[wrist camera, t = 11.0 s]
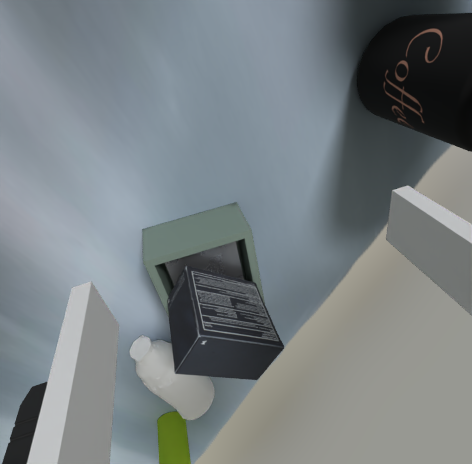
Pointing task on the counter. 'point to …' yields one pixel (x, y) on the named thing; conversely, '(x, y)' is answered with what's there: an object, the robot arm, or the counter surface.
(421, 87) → the coffee jar
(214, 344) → the small box
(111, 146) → the counter surface
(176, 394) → the white bottle
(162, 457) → the soap dispenser
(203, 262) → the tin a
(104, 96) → the counter surface
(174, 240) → the box
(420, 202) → the robot arm
